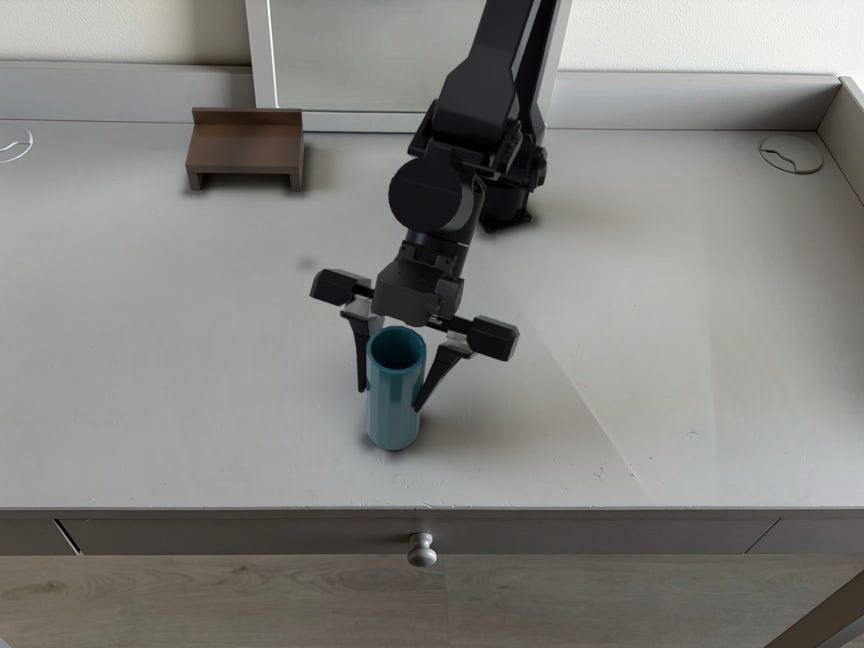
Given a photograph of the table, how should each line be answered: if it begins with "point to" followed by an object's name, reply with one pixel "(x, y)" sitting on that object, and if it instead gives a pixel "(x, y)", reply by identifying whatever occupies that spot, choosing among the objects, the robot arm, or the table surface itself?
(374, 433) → the teal cylindrical vase
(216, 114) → the shelf
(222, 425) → the table surface
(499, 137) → the robot arm
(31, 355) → the table surface
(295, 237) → the table surface
